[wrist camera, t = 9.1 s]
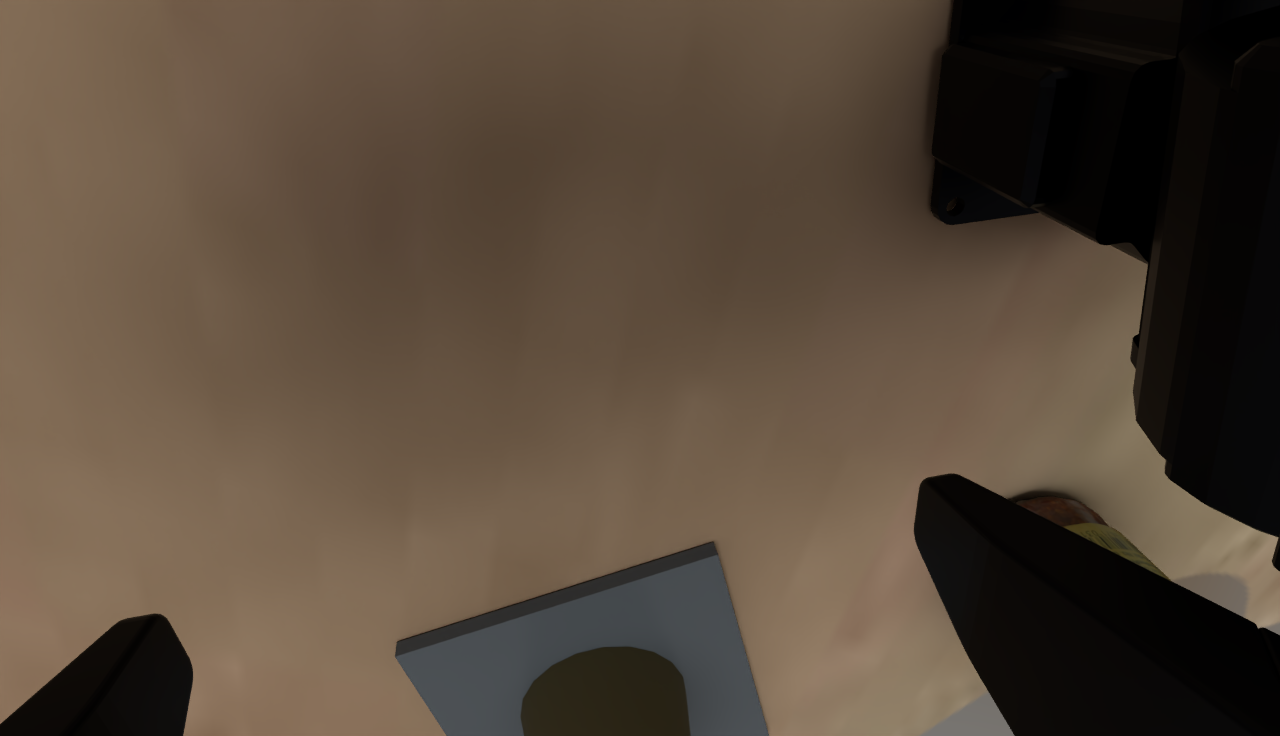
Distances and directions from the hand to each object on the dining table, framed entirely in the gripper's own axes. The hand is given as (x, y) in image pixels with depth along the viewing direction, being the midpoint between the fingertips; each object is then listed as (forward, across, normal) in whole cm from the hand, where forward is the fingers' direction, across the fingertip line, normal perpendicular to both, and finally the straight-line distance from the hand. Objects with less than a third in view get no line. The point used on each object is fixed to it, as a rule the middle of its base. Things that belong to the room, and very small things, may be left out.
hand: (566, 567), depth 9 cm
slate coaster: (+12, 0, +18) cm, 22 cm away
